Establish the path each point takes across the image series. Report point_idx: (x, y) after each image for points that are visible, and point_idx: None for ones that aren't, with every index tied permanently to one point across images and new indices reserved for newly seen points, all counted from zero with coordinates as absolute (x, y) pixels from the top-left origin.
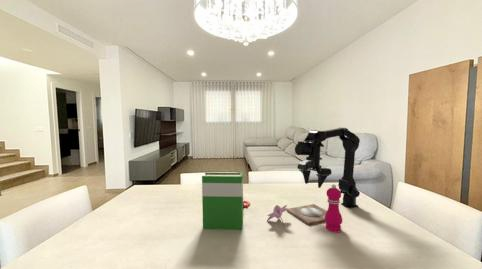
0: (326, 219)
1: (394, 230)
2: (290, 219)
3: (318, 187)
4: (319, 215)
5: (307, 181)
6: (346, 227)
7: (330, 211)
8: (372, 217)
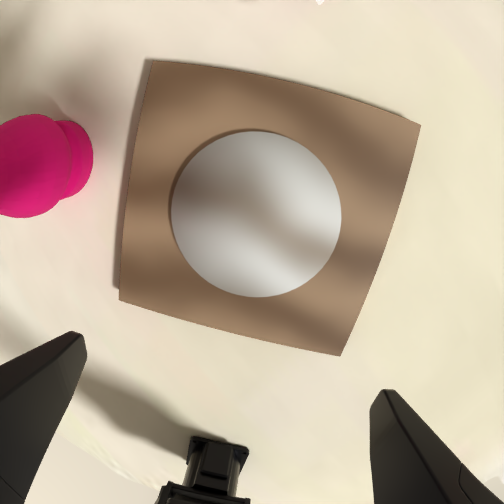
0: (34, 114)
1: (2, 341)
2: (294, 32)
3: (74, 333)
4: (174, 209)
5: (377, 436)
6: (49, 231)
7: None
8: (86, 400)
